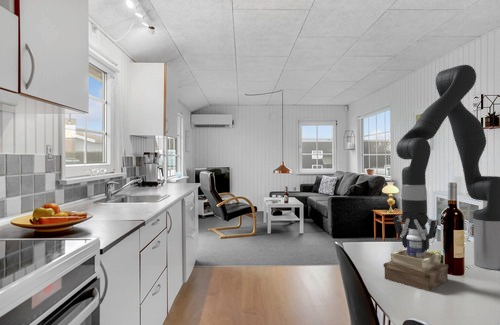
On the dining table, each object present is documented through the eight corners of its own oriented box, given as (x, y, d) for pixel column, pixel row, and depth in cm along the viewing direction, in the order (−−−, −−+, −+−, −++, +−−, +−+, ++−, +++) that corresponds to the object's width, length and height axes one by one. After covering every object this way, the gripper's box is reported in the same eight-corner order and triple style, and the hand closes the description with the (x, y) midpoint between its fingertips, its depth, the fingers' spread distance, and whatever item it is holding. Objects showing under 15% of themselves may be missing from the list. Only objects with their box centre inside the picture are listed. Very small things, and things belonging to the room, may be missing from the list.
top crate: (407, 257, 114) (406, 247, 114) (440, 264, 105) (440, 254, 105) (391, 263, 107) (390, 253, 107) (425, 272, 99) (425, 260, 99)
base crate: (404, 269, 116) (404, 255, 116) (448, 280, 105) (448, 265, 105) (383, 278, 108) (383, 263, 108) (429, 291, 96) (428, 274, 96)
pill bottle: (409, 254, 110) (408, 226, 110) (426, 257, 107) (425, 228, 107) (405, 258, 106) (404, 229, 106) (423, 261, 103) (422, 231, 103)
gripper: (442, 198, 103) (443, 251, 103) (398, 195, 114) (399, 243, 114) (432, 200, 98) (433, 255, 98) (387, 197, 110) (388, 246, 110)
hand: (415, 248), depth 106 cm, fingers closed on pill bottle, 5 cm apart
